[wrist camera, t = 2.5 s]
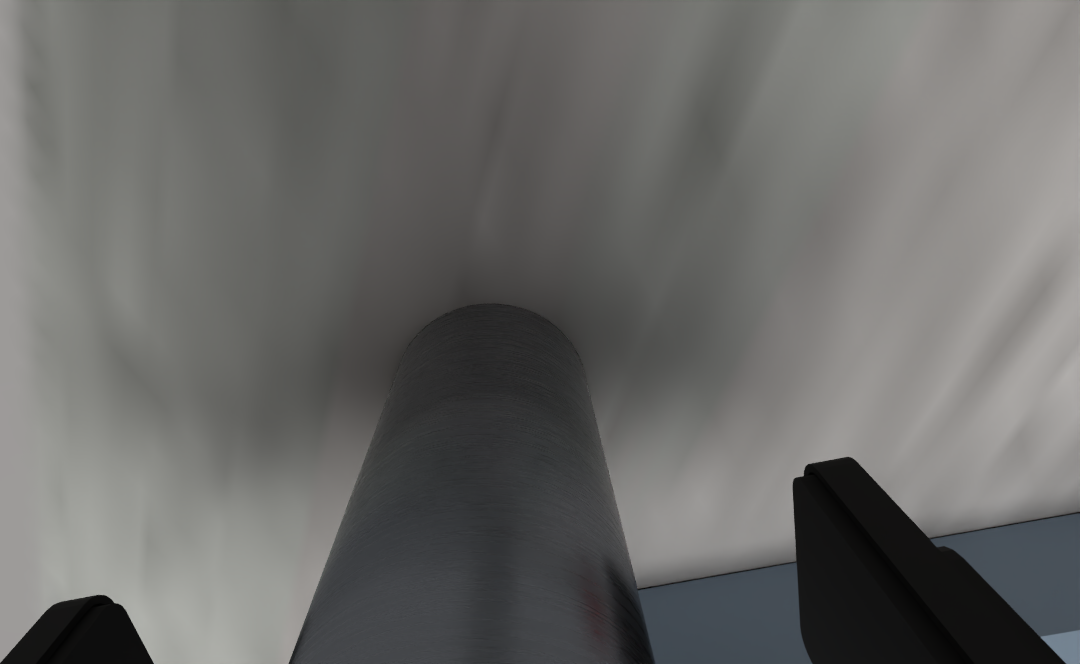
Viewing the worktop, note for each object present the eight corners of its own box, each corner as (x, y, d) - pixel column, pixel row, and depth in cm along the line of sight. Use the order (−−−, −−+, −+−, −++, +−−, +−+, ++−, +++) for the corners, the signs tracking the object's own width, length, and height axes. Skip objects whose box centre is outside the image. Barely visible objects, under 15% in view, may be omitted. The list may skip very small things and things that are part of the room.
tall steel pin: (373, 323, 13) (41, 945, 4) (569, 286, 13) (719, 834, 4) (422, 487, 15) (270, 1218, 5) (598, 455, 14) (758, 1144, 5)
